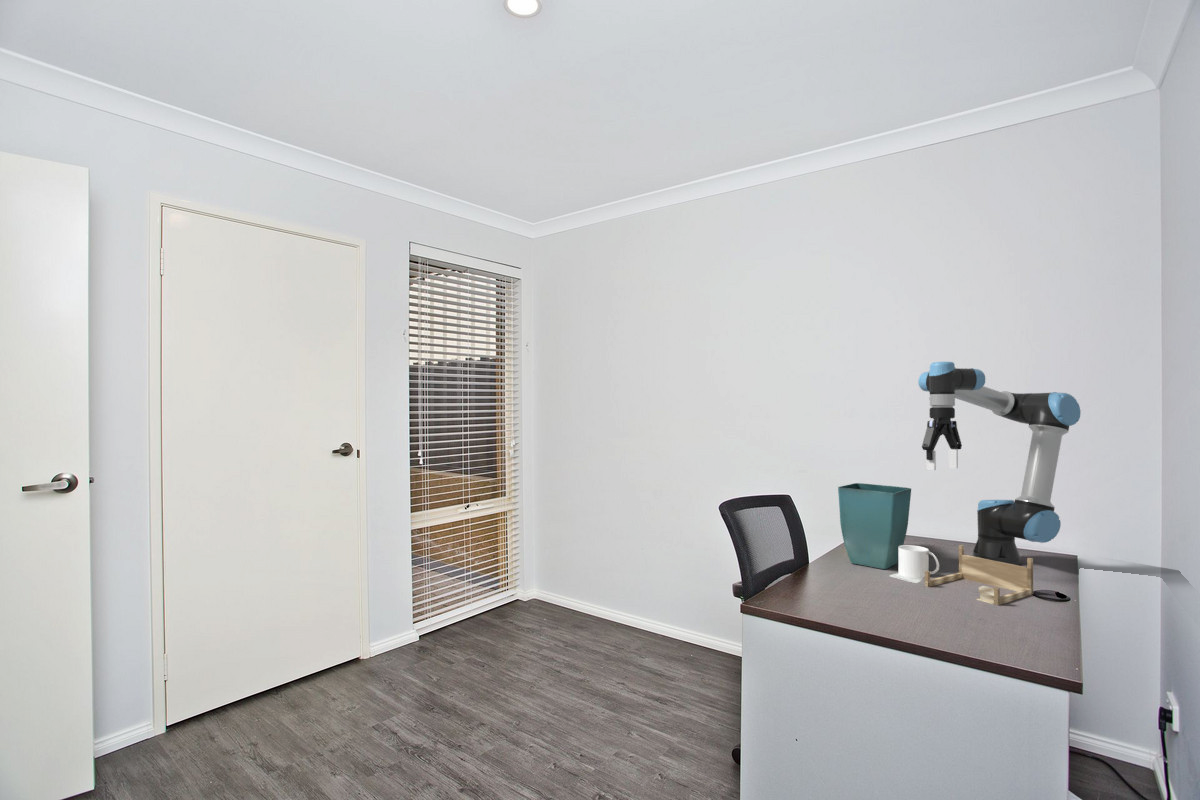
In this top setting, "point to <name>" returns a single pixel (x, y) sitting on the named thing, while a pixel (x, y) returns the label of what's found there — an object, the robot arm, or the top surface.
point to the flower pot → (873, 522)
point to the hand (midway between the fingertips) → (942, 469)
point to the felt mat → (905, 578)
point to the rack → (991, 576)
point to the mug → (914, 561)
